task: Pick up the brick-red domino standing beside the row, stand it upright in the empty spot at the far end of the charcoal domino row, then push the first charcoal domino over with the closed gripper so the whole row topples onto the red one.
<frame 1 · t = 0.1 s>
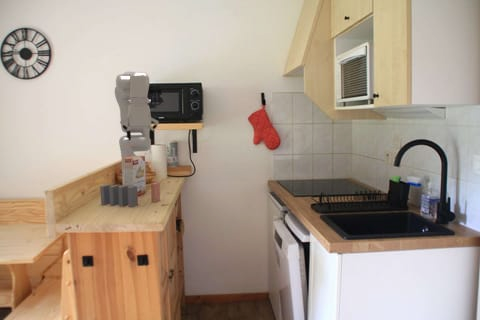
hand: (140, 139, 168), 31 cm above the worktop, tool pointing down, fingers open, 9 cm apart
red domino: (155, 201, 181), on the worktop
cracker box: (135, 195, 196), on the worktop
domino 3: (124, 205, 172), on the worktop
domino 4: (133, 205, 171), on the worktop
domino 2: (115, 204, 174), on the worktop
domino 1: (106, 204, 175), on the worktop
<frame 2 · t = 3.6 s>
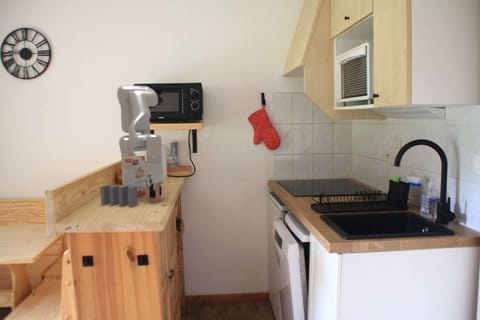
hand: (155, 196, 181), 2 cm above the worktop, tool pointing down, fingers closed on red domino, 4 cm apart
red domino: (155, 201, 181), on the worktop, touching gripper
everything else where it was.
when the fingers open (3 cm above the worktop, at t = 9.5 s): red domino stays where it is, on the worktop.
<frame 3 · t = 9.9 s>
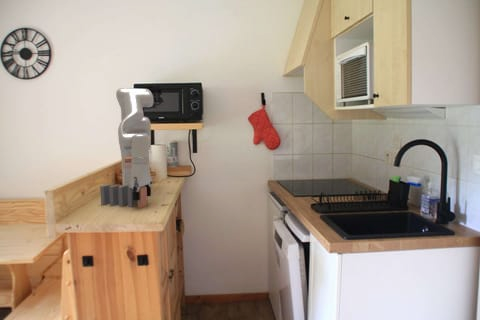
hand: (142, 198, 169), 4 cm above the worktop, tool pointing down, fingers open, 9 cm apart
red domino: (142, 206, 169), on the worktop
everything else where it was.
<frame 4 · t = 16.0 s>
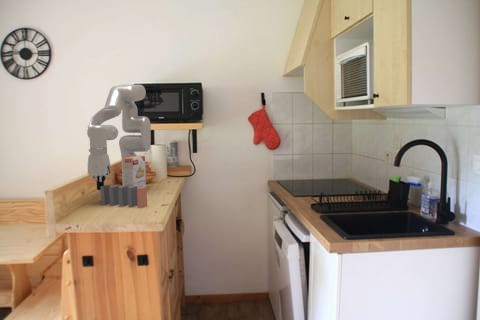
hand: (100, 189, 175), 7 cm above the worktop, tool pointing down, fingers closed
domino 1: (106, 204, 175), on the worktop, touching gripper
everything else where it was.
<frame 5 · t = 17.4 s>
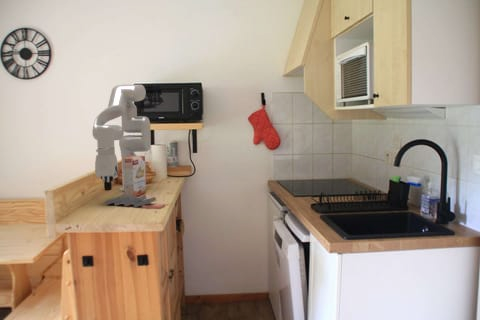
hand: (108, 190, 174), 7 cm above the worktop, tool pointing down, fingers closed
red domino: (144, 205, 169), on the worktop, tilted 90°, touching domino 4
domino 3: (127, 203, 172), point 1 cm above the worktop, tilted 70°, touching domino 2, domino 4
domino 4: (137, 204, 170), point 1 cm above the worktop, tilted 73°, touching domino 3, red domino
domino 2: (117, 203, 173), point 1 cm above the worktop, tilted 70°, touching domino 3
domino 1: (108, 202, 175), point 1 cm above the worktop, tilted 69°
everything else where it was.
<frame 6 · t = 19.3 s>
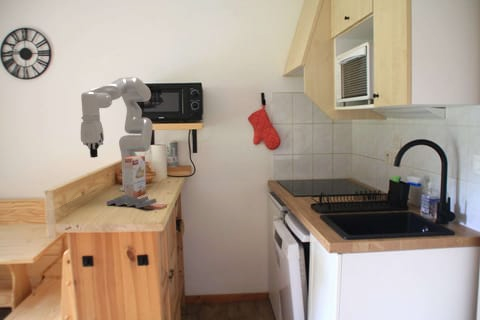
hand: (94, 157, 175), 23 cm above the worktop, tool pointing down, fingers closed
red domino: (146, 206, 168), on the worktop, tilted 90°, touching domino 4
domino 3: (130, 203, 171), point 1 cm above the worktop, tilted 71°, touching domino 2
domino 4: (140, 204, 168), point 1 cm above the worktop, tilted 74°, touching red domino
domino 2: (119, 203, 173), point 1 cm above the worktop, tilted 71°, touching domino 1, domino 3
domino 1: (110, 202, 175), point 1 cm above the worktop, tilted 70°, touching domino 2
everything else where it was.
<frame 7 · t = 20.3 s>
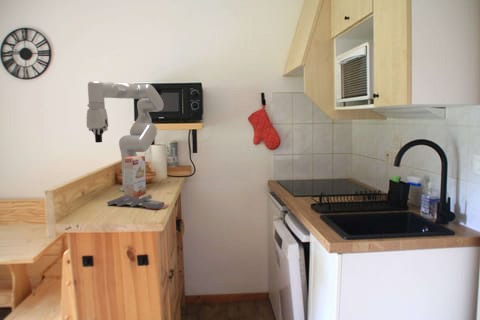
hand: (98, 142, 187), 29 cm above the worktop, tool pointing down, fingers closed
red domino: (148, 206, 168), on the worktop, tilted 90°
domino 3: (133, 204, 171), point 1 cm above the worktop, tilted 65°, touching domino 4
domino 4: (145, 203, 168), point 2 cm above the worktop, tilted 90°, touching domino 3
domino 2: (120, 203, 173), point 1 cm above the worktop, tilted 73°, touching domino 1
everything else where it was.
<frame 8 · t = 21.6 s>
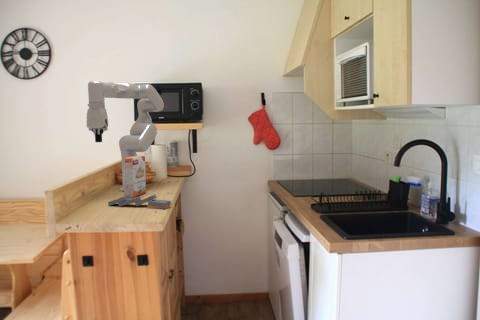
hand: (98, 142, 187), 29 cm above the worktop, tool pointing down, fingers closed
red domino: (149, 206, 168), on the worktop, tilted 90°, touching domino 4
domino 3: (137, 203, 170), point 1 cm above the worktop, tilted 68°
domino 4: (151, 202, 169), point 2 cm above the worktop, tilted 90°, touching red domino
at the end: red domino tilted 90°; domino 1 tilted 71°; red domino inside the target area (2.2 cm from its centre), on the worktop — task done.
